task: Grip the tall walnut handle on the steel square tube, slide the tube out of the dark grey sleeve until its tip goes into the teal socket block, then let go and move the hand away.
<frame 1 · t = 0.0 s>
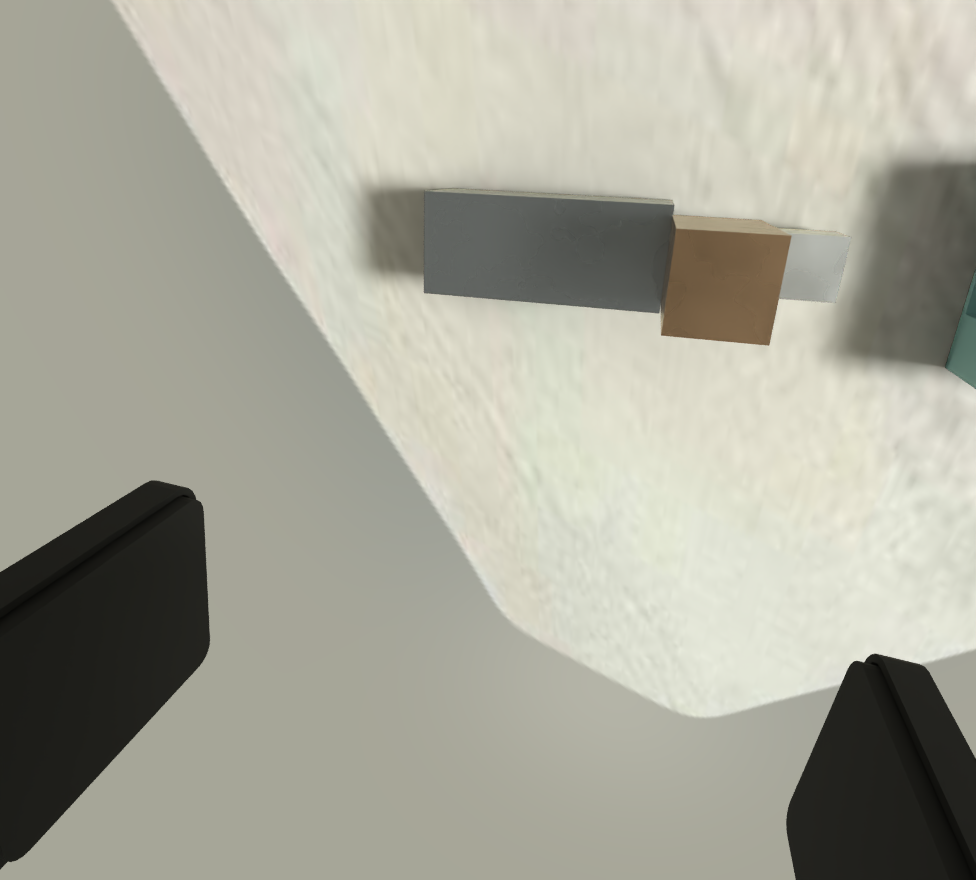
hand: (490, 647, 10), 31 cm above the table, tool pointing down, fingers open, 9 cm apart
inner tube: (633, 262, 31), point 7 cm above the table, slide at 0.0 cm, touching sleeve
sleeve: (451, 234, 39), on the table
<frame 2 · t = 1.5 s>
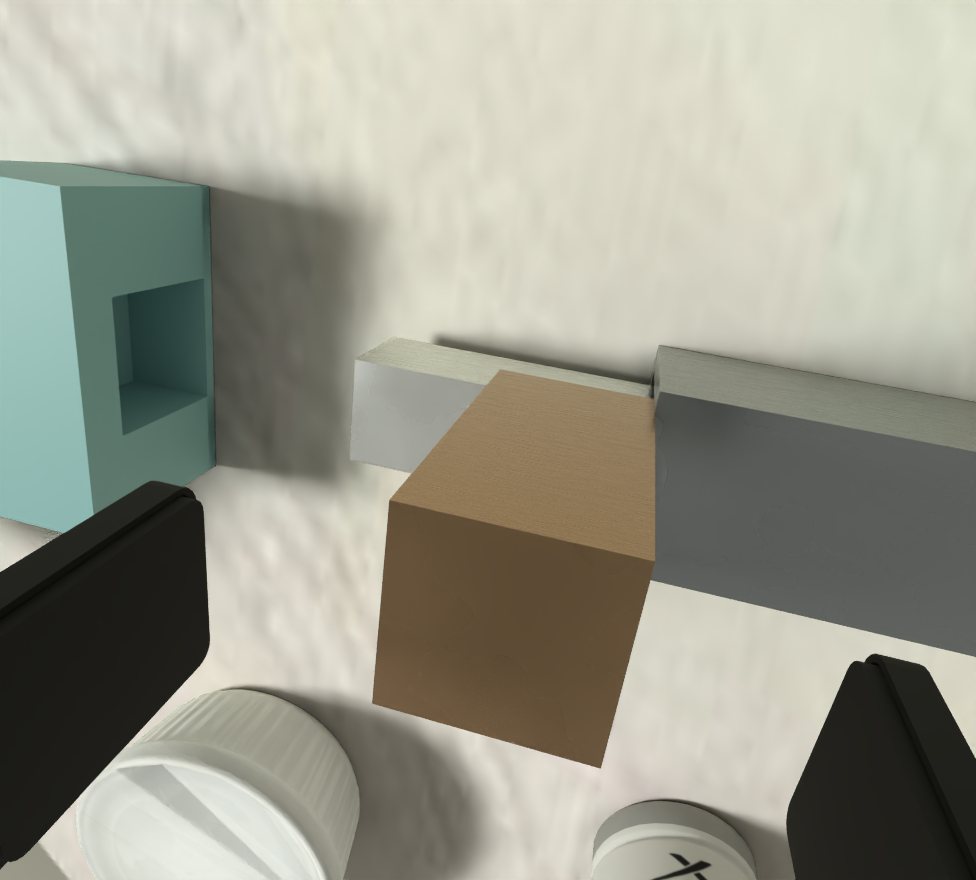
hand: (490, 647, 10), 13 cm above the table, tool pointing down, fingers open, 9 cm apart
inner tube: (702, 528, 15), point 7 cm above the table, slide at 0.0 cm, touching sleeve
socket block: (78, 340, 21), on the table
ramekin: (271, 762, 31), on the table
travel mug: (668, 849, 27), on the table
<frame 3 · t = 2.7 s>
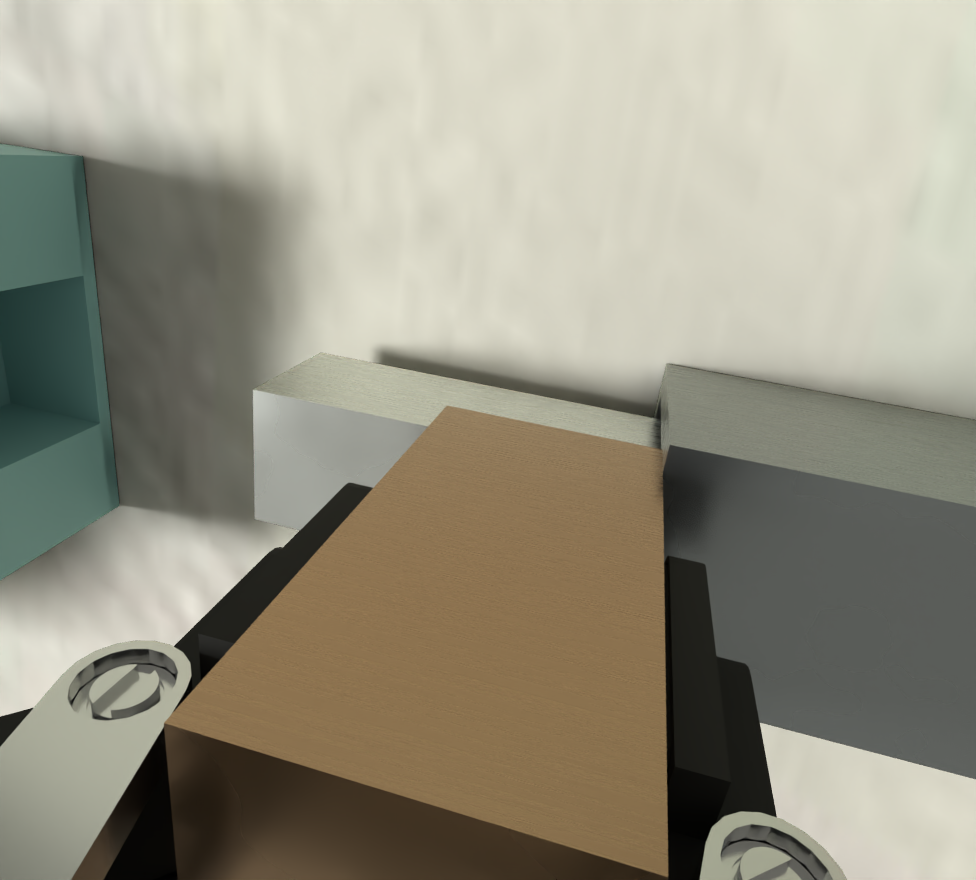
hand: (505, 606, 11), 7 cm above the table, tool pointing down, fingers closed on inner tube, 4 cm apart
inner tube: (732, 650, 10), point 6 cm above the table, slide at 0.0 cm, touching gripper
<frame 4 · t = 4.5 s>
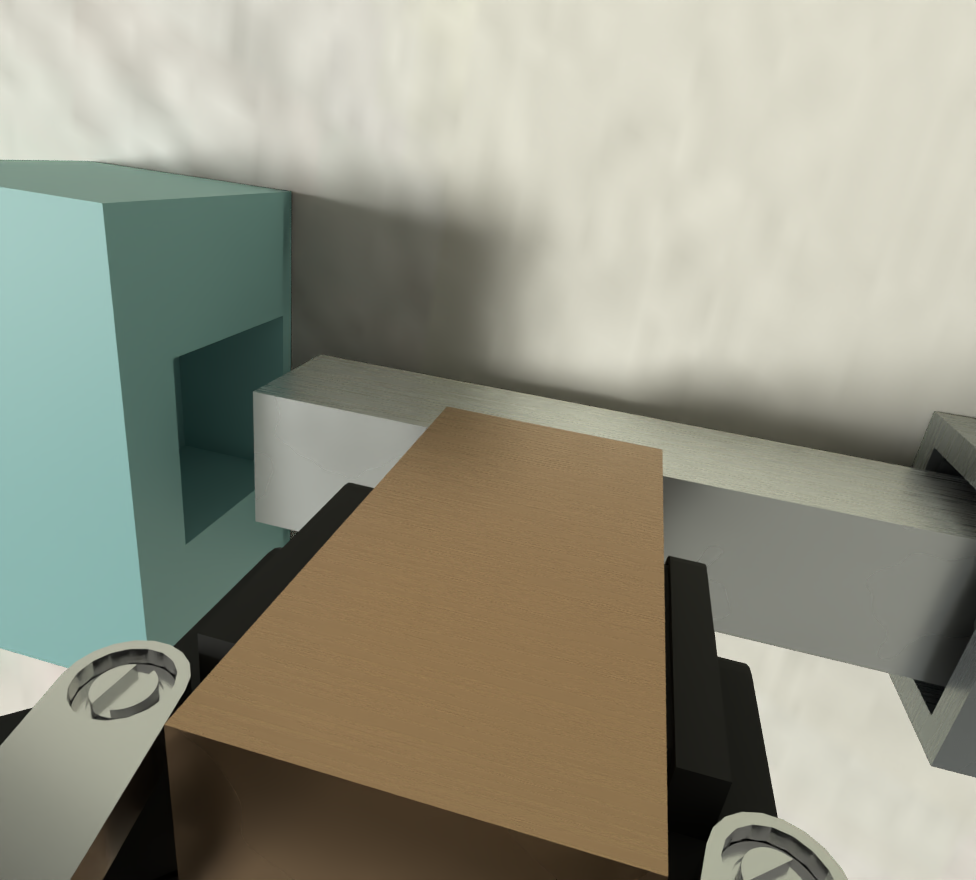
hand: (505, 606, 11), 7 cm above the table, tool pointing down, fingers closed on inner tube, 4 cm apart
inner tube: (733, 650, 10), point 6 cm above the table, slide at 5.7 cm, touching gripper
socket block: (118, 406, 16), on the table
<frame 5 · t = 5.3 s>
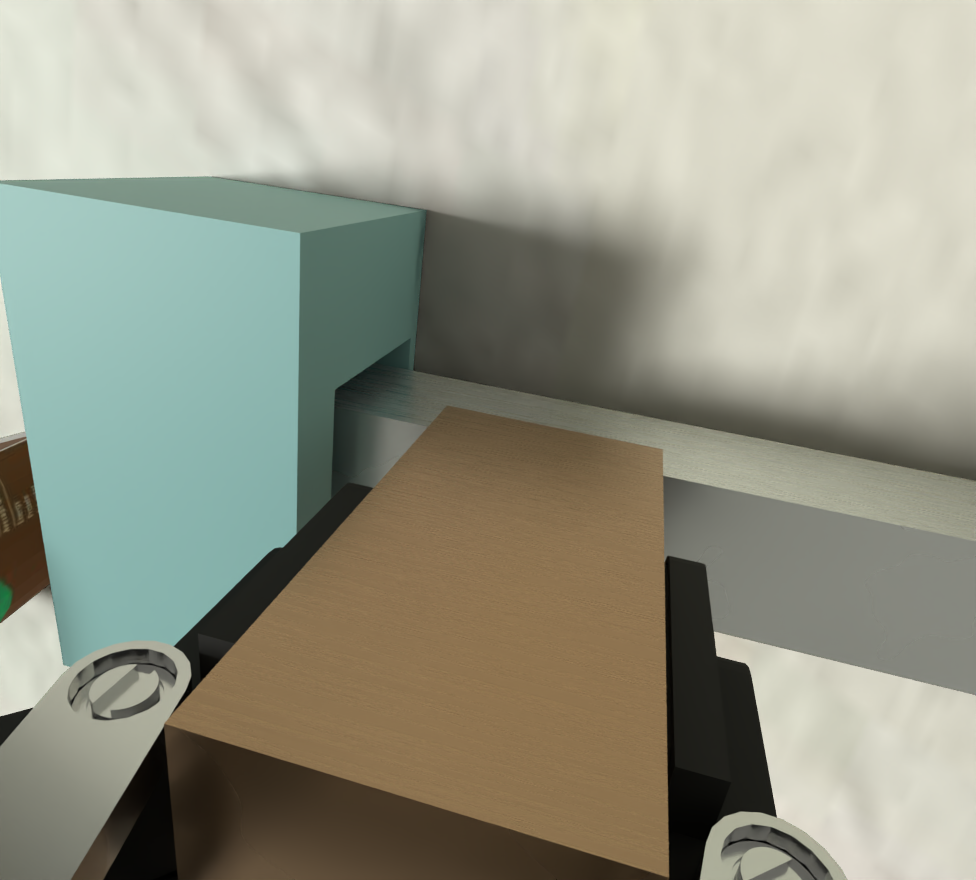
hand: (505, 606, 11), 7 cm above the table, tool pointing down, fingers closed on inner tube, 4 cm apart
inner tube: (733, 650, 10), point 7 cm above the table, slide at 9.0 cm, touching gripper
socket block: (248, 433, 15), on the table
food container: (18, 528, 23), on the table
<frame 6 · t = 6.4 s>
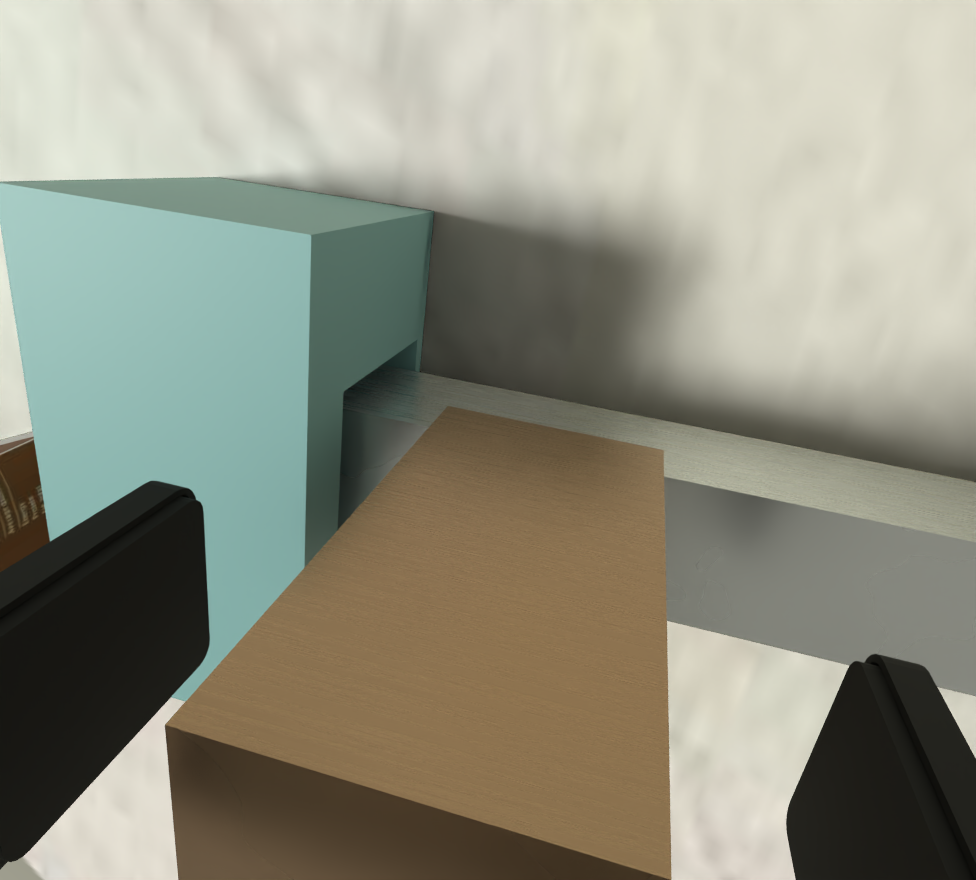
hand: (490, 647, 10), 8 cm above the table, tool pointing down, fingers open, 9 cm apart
inner tube: (734, 651, 10), point 6 cm above the table, slide at 9.2 cm
socket block: (255, 434, 15), on the table
food container: (21, 529, 22), on the table
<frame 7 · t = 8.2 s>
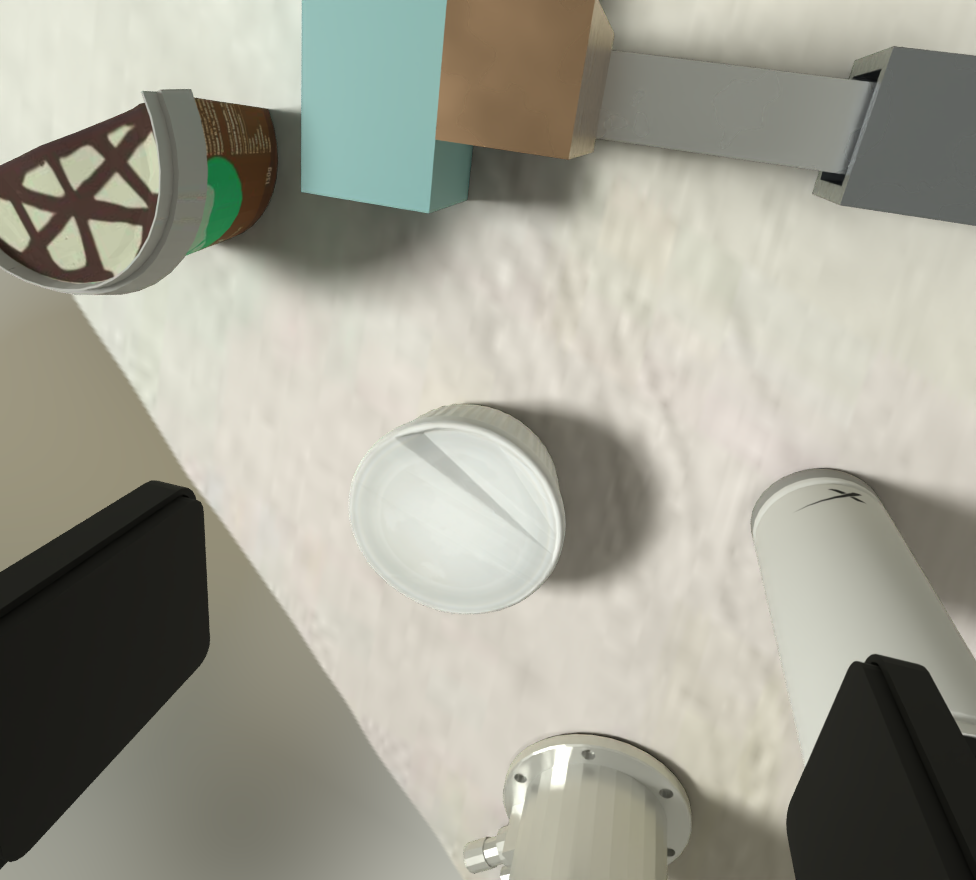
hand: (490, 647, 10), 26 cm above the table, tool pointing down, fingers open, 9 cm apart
inner tube: (641, 97, 23), point 7 cm above the table, slide at 9.2 cm
socket block: (398, 68, 28), on the table
food container: (219, 200, 35), on the table
ramekin: (477, 476, 39), on the table
travel mug: (811, 516, 35), on the table
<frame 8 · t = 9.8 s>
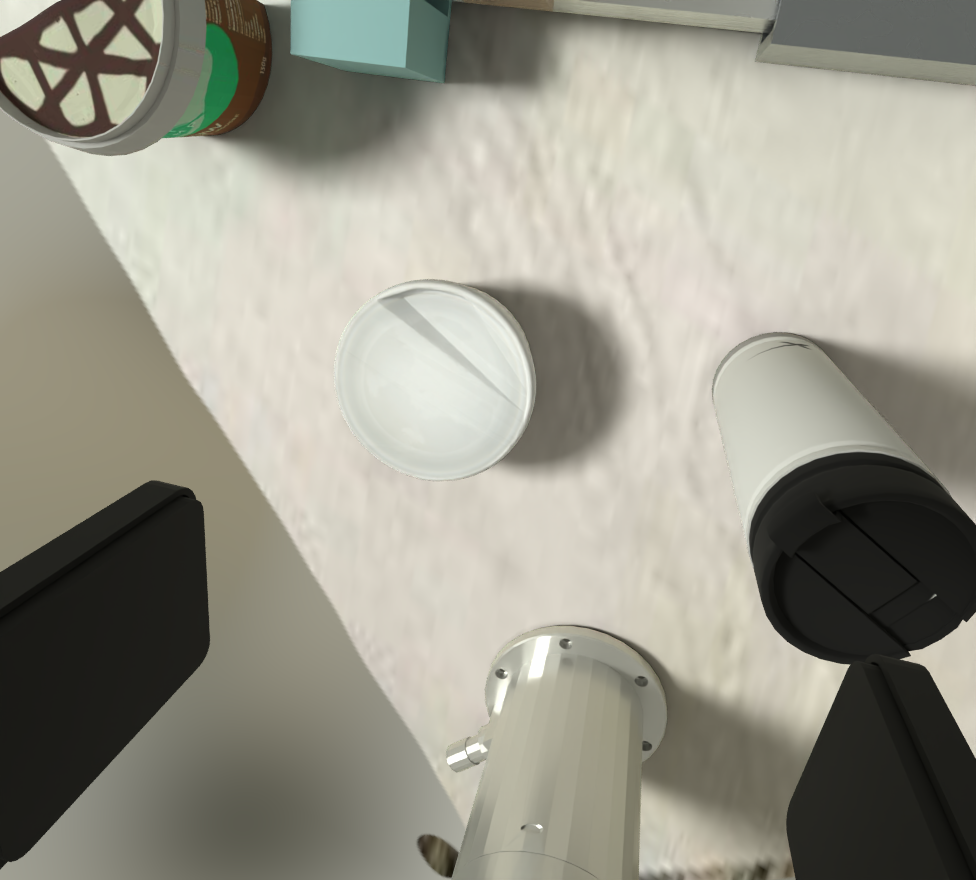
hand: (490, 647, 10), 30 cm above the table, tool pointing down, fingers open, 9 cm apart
food container: (218, 96, 38), on the table
ramekin: (457, 361, 41), on the table
travel mug: (768, 384, 37), on the table
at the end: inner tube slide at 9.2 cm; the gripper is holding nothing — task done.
